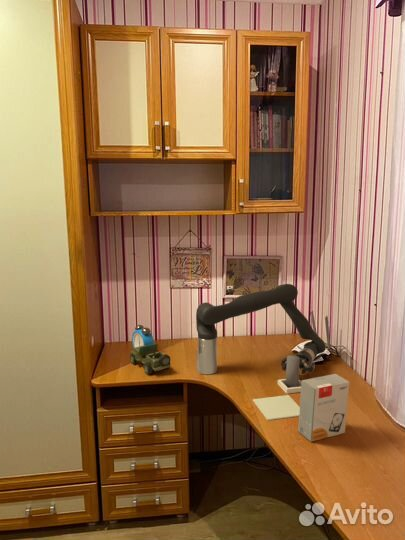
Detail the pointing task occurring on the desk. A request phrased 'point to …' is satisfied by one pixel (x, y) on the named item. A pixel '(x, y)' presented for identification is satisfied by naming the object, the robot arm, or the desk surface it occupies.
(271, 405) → the pale sage mat
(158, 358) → the toy jeep
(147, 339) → the alarm clock
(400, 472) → the desk surface
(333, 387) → the hard drive box
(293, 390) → the off-white collar
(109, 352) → the desk surface
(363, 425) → the desk surface
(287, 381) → the grey cylinder
